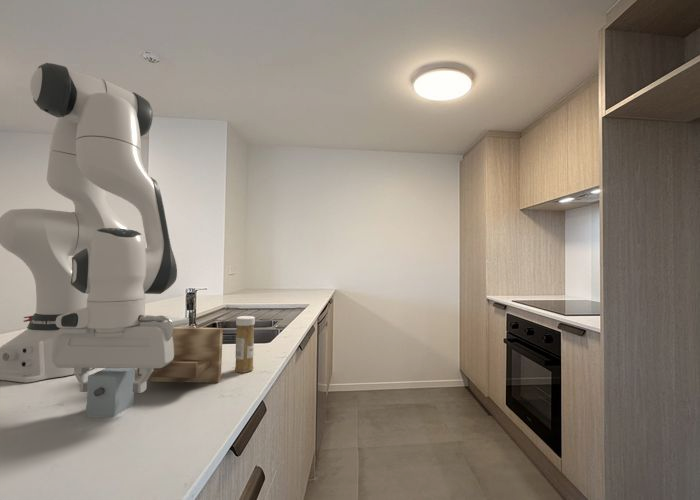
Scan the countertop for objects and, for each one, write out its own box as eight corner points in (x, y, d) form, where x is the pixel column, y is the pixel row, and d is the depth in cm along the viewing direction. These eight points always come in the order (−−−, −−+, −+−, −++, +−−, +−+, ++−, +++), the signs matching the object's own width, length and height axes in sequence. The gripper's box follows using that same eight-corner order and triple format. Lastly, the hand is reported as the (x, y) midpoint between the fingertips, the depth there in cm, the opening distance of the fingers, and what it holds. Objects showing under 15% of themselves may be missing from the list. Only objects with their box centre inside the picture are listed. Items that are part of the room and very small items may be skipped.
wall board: (126, 393, 67) (129, 334, 67) (151, 378, 75) (153, 326, 76) (204, 395, 67) (206, 336, 67) (220, 380, 76) (222, 328, 76)
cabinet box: (81, 419, 56) (83, 378, 56) (107, 404, 62) (108, 366, 62) (110, 419, 56) (112, 378, 57) (133, 404, 62) (134, 367, 63)
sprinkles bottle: (255, 371, 82) (257, 317, 83) (237, 374, 80) (238, 318, 80) (250, 366, 86) (251, 314, 86) (232, 369, 83) (234, 316, 84)
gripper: (181, 313, 64) (179, 385, 63) (76, 312, 63) (72, 384, 63) (163, 318, 57) (160, 398, 57) (46, 317, 57) (42, 398, 56)
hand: (113, 391), depth 60 cm, fingers open, 8 cm apart
